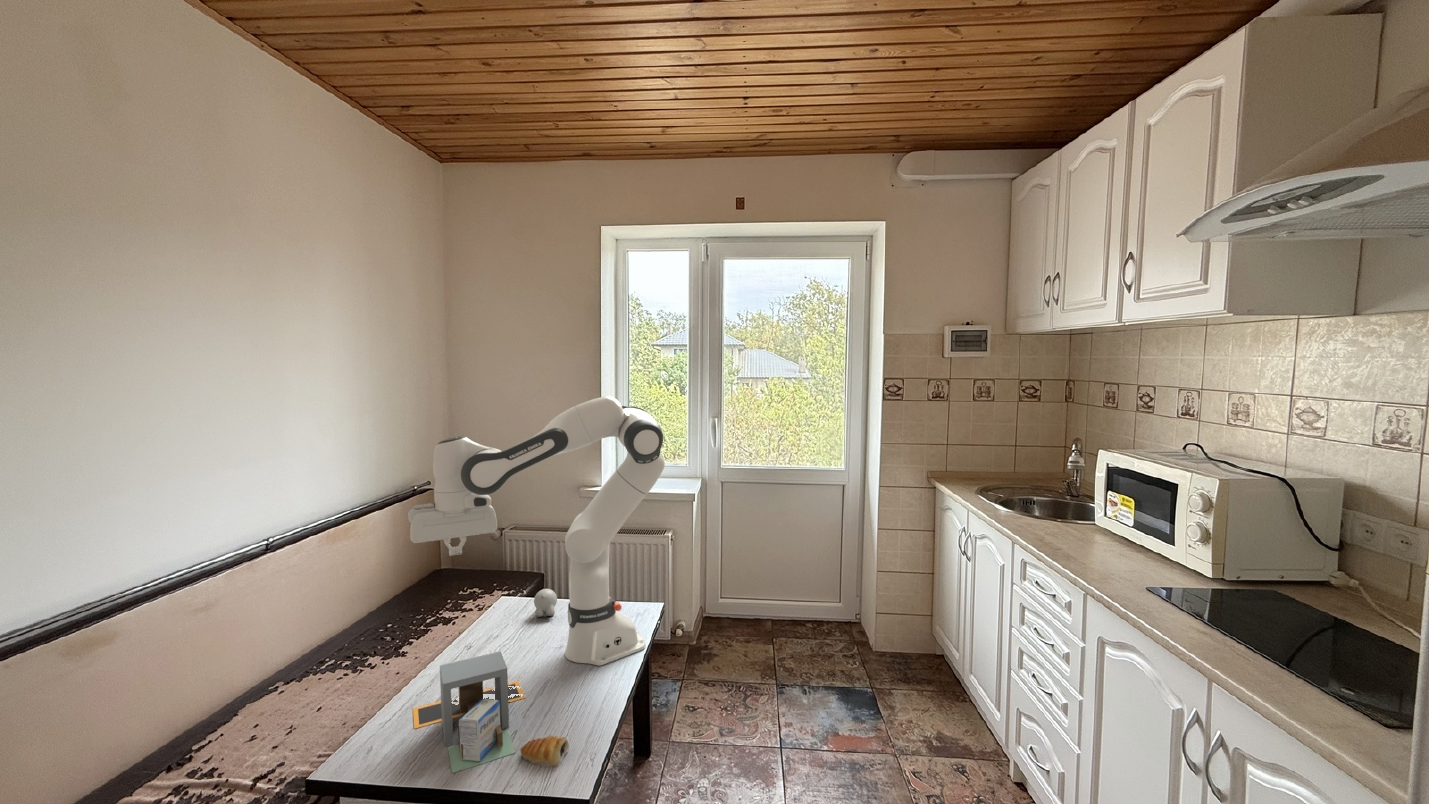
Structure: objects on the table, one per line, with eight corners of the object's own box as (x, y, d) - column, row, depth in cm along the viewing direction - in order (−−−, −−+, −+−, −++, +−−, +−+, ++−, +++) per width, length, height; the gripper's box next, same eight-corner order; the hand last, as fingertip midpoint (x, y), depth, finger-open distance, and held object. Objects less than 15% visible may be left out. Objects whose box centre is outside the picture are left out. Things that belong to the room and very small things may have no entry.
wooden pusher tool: (488, 698, 139) (487, 654, 138) (502, 746, 121) (501, 695, 121) (452, 708, 135) (450, 663, 134) (461, 759, 117) (459, 706, 117)
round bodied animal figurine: (558, 615, 195) (559, 588, 198) (555, 615, 184) (556, 587, 186) (536, 616, 193) (537, 590, 196) (531, 617, 182) (533, 589, 185)
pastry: (514, 766, 116) (514, 747, 116) (529, 744, 123) (529, 727, 123) (559, 769, 115) (558, 751, 115) (571, 748, 122) (571, 730, 122)
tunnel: (502, 706, 137) (500, 651, 136) (509, 726, 129) (507, 668, 128) (441, 723, 130) (439, 665, 130) (445, 745, 122) (442, 684, 122)
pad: (507, 730, 128) (507, 729, 128) (515, 753, 120) (515, 752, 120) (448, 747, 122) (448, 747, 122) (452, 773, 114) (452, 772, 114)
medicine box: (479, 762, 117) (478, 721, 116) (459, 760, 118) (458, 719, 117) (501, 738, 124) (500, 699, 124) (482, 736, 125) (481, 697, 125)
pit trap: (518, 681, 148) (518, 680, 148) (525, 698, 140) (525, 697, 140) (413, 708, 136) (413, 708, 136) (414, 729, 128) (414, 728, 128)
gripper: (407, 508, 138) (410, 564, 139) (497, 498, 148) (499, 551, 149) (407, 503, 144) (409, 557, 145) (493, 494, 154) (495, 545, 155)
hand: (455, 554), depth 147 cm, fingers closed
